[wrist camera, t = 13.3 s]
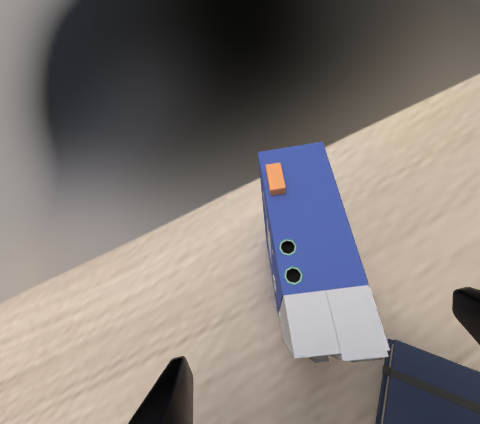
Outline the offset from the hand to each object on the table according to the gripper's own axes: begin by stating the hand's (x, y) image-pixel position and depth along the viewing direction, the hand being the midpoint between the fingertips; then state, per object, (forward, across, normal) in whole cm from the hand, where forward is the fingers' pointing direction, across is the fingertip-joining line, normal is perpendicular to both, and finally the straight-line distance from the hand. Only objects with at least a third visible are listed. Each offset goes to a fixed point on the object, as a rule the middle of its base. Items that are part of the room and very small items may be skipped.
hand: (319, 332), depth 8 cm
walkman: (+10, -1, +6) cm, 11 cm away
